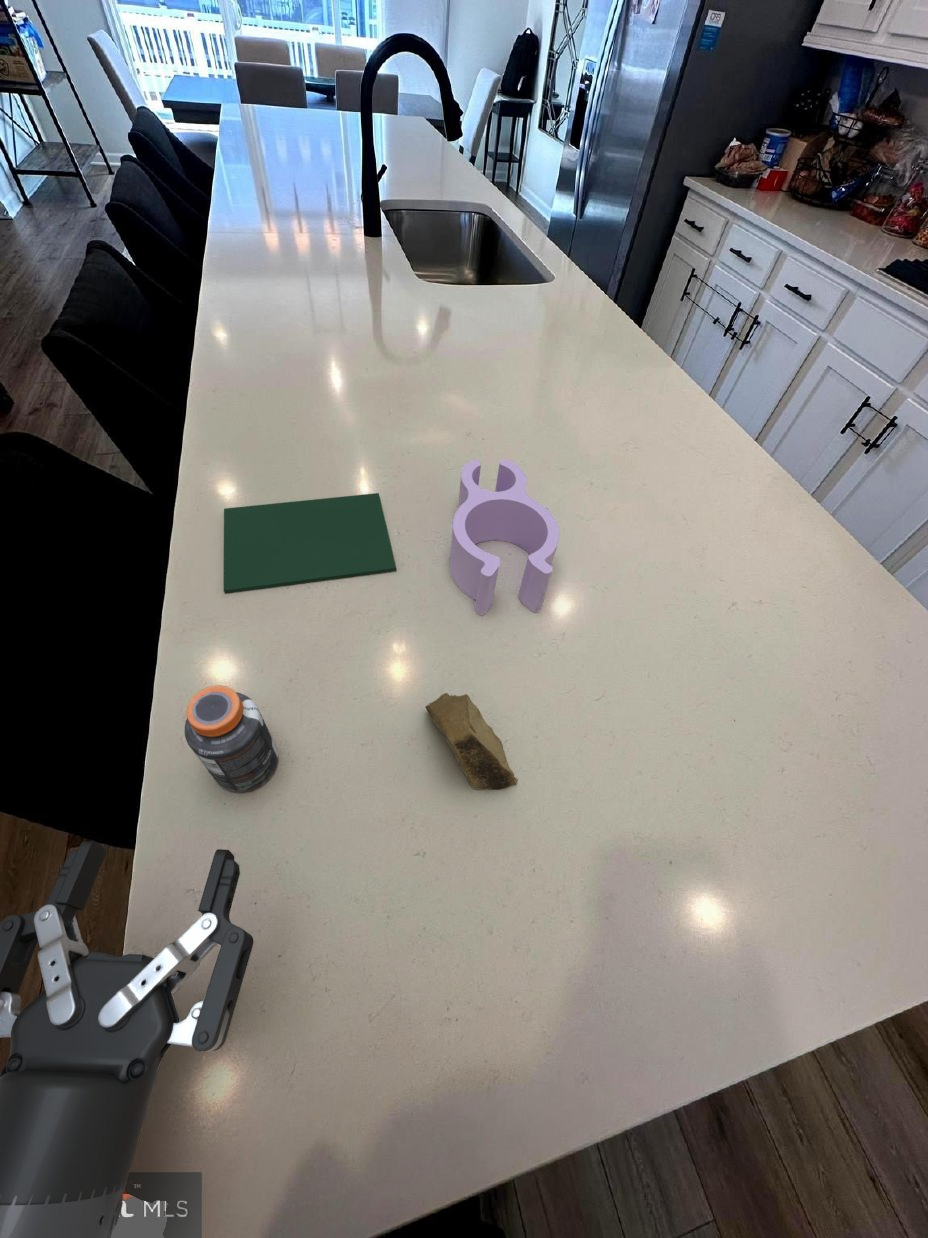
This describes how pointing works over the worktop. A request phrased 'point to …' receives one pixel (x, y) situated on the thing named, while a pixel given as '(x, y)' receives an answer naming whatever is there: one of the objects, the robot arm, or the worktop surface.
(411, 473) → the worktop surface
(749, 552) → the worktop surface
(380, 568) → the mat
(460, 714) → the rock
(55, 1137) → the robot arm
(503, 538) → the clip
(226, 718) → the pill bottle
